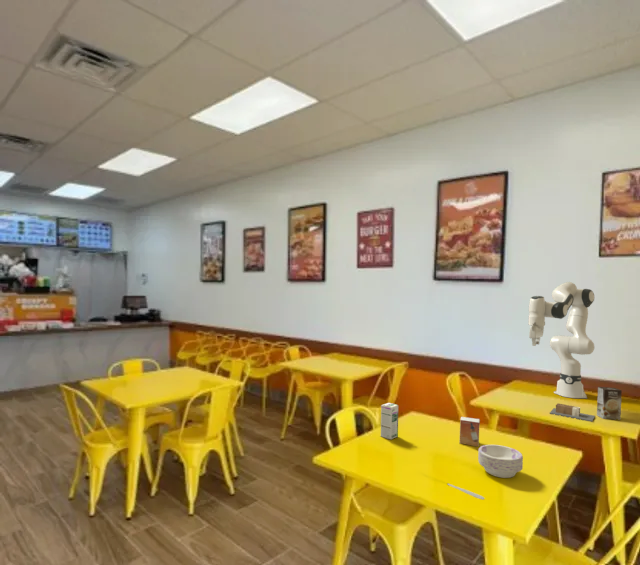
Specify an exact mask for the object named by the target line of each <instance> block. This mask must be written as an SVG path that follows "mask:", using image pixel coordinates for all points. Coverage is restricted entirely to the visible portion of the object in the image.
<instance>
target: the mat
mask: <svg viewBox="0 0 640 565" xmlns="http://www.w3.org/2000/svg"><path fill="white" fill-rule="evenodd" d="M549 414H550V415H554V414H555V415H554V416H559V415H561V416H560V417H564V416H566V418H569V417H571V418H570V419H574V418H576V419H575V420H580V419H581V421H586V422H590V423H592V422H593V420H594V419H595V417H596V416H595V415H592V414H587V413H584V412H583V413H581V412H580V415H579V417H578V416H573V415H568V414H562V413H557V412H556V407H554V408H552V410H551V411H550V412H549Z"/></svg>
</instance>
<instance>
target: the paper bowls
mask: <svg viewBox="0 0 640 565" xmlns="http://www.w3.org/2000/svg"><path fill="white" fill-rule="evenodd" d="M477 451H478V456H477V457H478V460H477V461H478V463H479V465H481V466H482V467H483V468H484V470H485V471H486V473H488V474H490V475H491V476H494V477H498V478H504V479H507V478H508V479H509V478H513V477H515V475H517V473H519V472H521V471H522V470H523V467H524V466H523V465H524V462H523V458H524V457H523V454H522V453H521V452H520V451H519V450H517V449H515V448H513V447H509V446H505V445H499V444H484V445H480V447H479V448H478V450H477Z"/></svg>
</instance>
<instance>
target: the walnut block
mask: <svg viewBox="0 0 640 565" xmlns="http://www.w3.org/2000/svg"><path fill="white" fill-rule="evenodd" d="M555 408H556V412H557V413H562V414H568V415H573V416H578V417H579V415H580V413H581V407H580V406H574V405H569V404H563V403H557V404H555Z"/></svg>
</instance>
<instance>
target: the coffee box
mask: <svg viewBox="0 0 640 565" xmlns="http://www.w3.org/2000/svg"><path fill="white" fill-rule="evenodd" d="M622 392H623V391H622V389H619V388H616V387H608V386H607V387H606V386H598V387H597V400H596V401H597V403H596V404H597V406H596V416H598V417H599V418H601V419H603V420H616V419H618V420H619V421H620V420H621V414H622V411H621V410H622Z"/></svg>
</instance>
